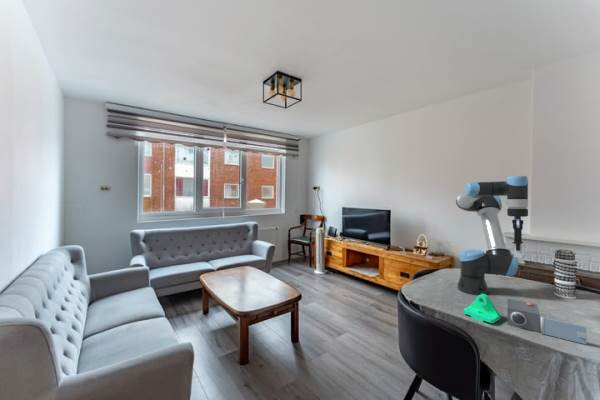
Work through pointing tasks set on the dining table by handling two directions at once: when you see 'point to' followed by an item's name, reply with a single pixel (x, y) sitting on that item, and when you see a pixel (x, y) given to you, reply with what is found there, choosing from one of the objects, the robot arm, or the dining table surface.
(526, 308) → the housing
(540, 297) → the dining table surface
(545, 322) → the side door
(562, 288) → the decorative candle
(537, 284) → the dining table surface
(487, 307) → the camera mount
